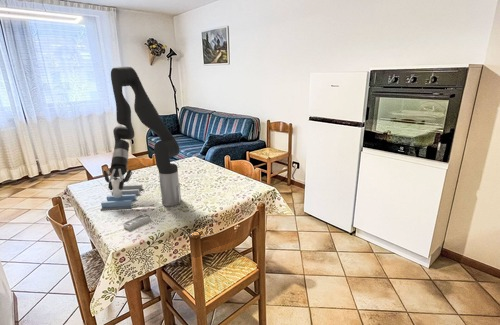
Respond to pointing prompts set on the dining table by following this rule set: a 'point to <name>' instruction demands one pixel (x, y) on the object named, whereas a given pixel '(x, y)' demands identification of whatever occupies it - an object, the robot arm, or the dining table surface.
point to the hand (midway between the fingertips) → (115, 189)
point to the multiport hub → (136, 221)
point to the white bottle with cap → (116, 187)
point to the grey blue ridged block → (122, 198)
